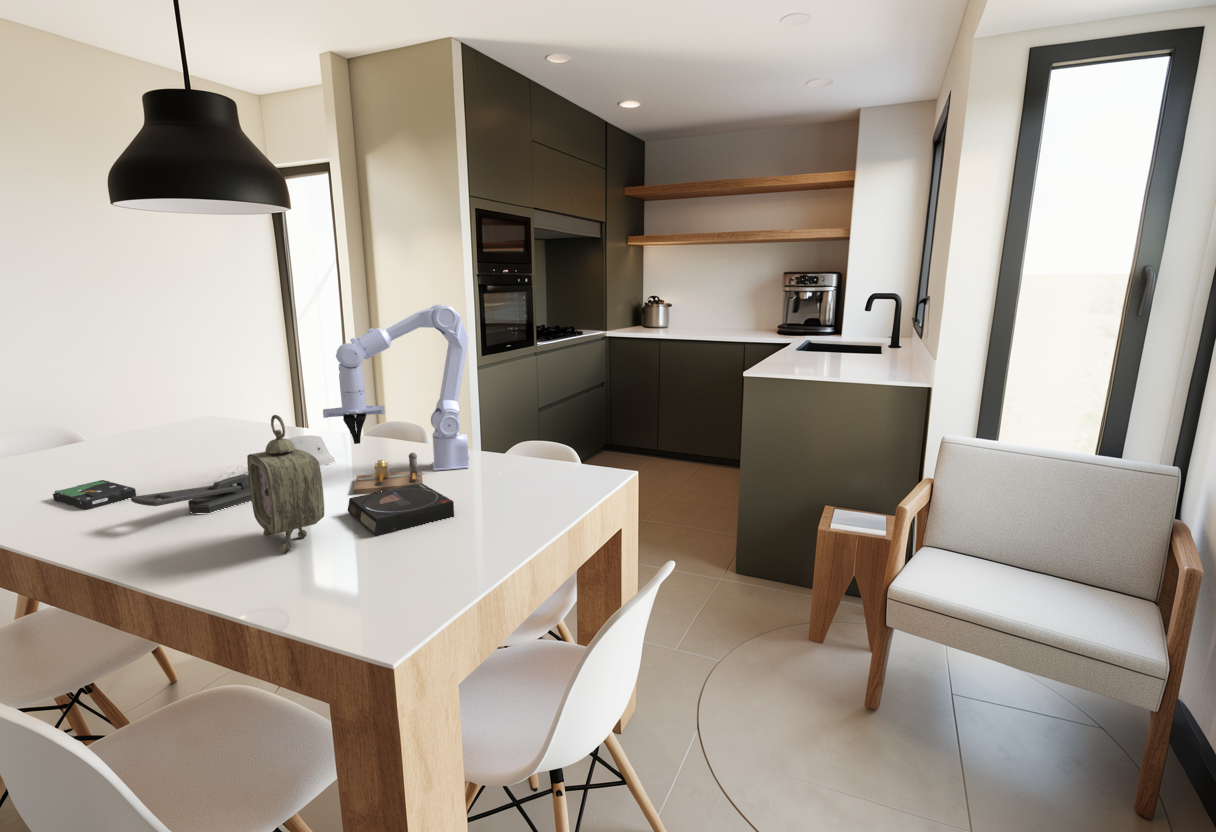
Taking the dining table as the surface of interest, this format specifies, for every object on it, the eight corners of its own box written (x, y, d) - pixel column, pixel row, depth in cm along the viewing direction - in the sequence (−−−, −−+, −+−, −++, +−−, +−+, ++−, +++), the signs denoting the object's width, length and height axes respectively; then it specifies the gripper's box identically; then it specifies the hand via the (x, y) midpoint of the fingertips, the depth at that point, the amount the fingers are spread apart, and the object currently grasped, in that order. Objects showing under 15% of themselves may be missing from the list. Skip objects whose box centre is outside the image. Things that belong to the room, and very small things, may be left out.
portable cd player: (348, 516, 134) (346, 498, 133) (422, 499, 144) (421, 483, 144) (374, 539, 121) (373, 519, 120) (454, 518, 132) (453, 501, 131)
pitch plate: (422, 474, 162) (420, 448, 161) (422, 488, 151) (421, 460, 150) (357, 480, 157) (355, 453, 156) (353, 494, 146) (350, 465, 145)
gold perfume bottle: (388, 473, 157) (387, 458, 156) (387, 481, 150) (386, 466, 150) (376, 474, 156) (375, 459, 155) (374, 483, 149) (373, 467, 149)
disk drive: (138, 499, 145) (104, 489, 151) (136, 488, 144) (102, 478, 151) (86, 513, 136) (52, 502, 142) (84, 501, 135) (50, 490, 142)
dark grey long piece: (124, 497, 125) (237, 465, 147) (129, 527, 126) (241, 491, 149) (153, 502, 121) (264, 469, 144) (158, 534, 123) (267, 496, 145)
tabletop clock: (255, 536, 121) (240, 413, 116) (303, 524, 127) (291, 406, 122) (279, 558, 111) (264, 424, 106) (330, 544, 117) (318, 417, 112)
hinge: (284, 478, 159) (271, 441, 158) (273, 482, 161) (260, 446, 161) (336, 462, 174) (324, 428, 173) (325, 465, 176) (314, 432, 176)
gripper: (319, 395, 149) (324, 448, 152) (382, 391, 154) (386, 444, 156) (322, 390, 156) (328, 442, 159) (383, 387, 160) (387, 438, 163)
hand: (357, 442), depth 158 cm, fingers closed
